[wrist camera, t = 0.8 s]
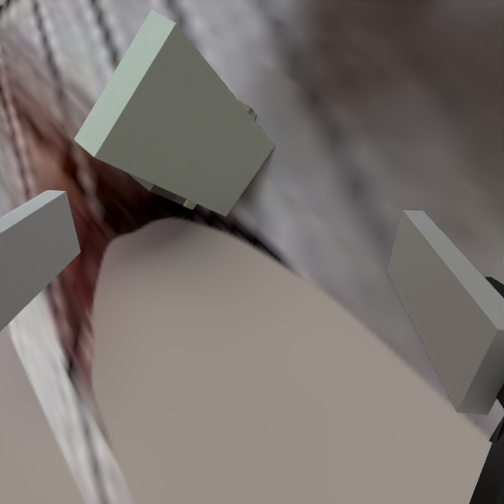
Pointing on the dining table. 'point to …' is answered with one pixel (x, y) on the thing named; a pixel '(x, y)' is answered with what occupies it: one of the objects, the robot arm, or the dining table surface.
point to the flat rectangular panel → (175, 121)
